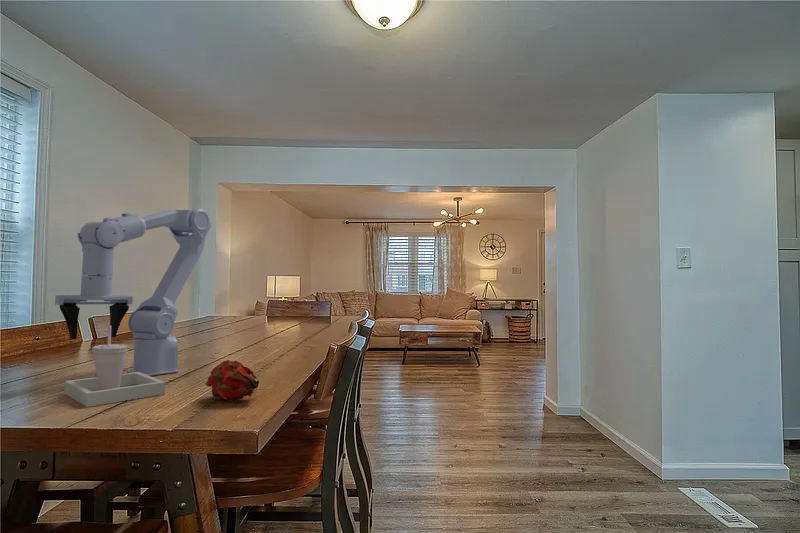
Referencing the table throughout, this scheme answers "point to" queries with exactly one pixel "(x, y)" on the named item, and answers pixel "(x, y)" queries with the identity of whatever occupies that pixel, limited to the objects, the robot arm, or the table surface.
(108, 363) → the smoothie
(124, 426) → the table surface
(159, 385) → the white shallow square frame
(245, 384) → the dragon fruit
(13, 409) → the table surface
